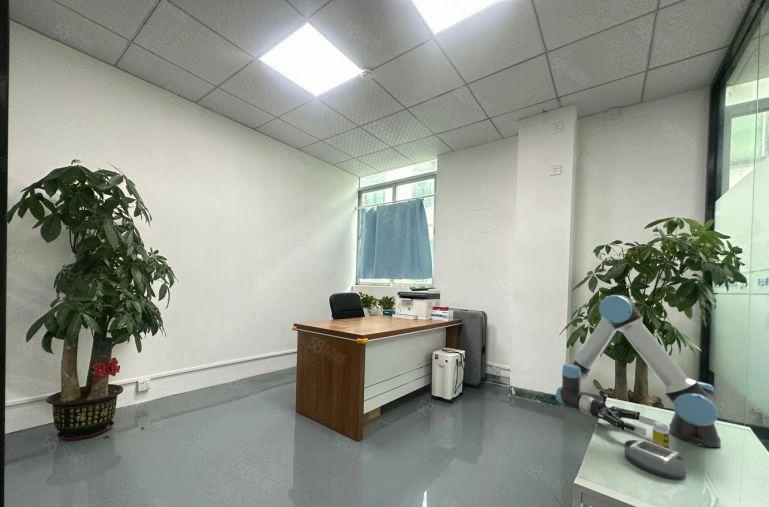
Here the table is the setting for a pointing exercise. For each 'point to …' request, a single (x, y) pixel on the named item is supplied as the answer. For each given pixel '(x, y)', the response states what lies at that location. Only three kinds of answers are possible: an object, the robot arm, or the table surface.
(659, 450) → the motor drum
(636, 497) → the table surface
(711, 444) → the robot arm
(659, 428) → the supplement bottle
